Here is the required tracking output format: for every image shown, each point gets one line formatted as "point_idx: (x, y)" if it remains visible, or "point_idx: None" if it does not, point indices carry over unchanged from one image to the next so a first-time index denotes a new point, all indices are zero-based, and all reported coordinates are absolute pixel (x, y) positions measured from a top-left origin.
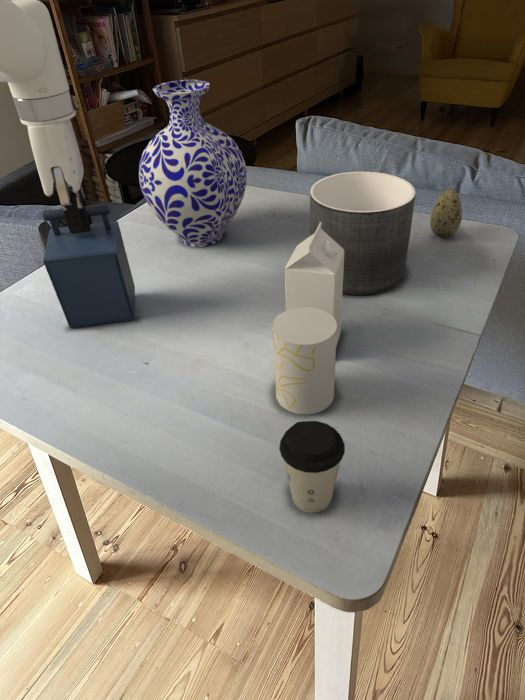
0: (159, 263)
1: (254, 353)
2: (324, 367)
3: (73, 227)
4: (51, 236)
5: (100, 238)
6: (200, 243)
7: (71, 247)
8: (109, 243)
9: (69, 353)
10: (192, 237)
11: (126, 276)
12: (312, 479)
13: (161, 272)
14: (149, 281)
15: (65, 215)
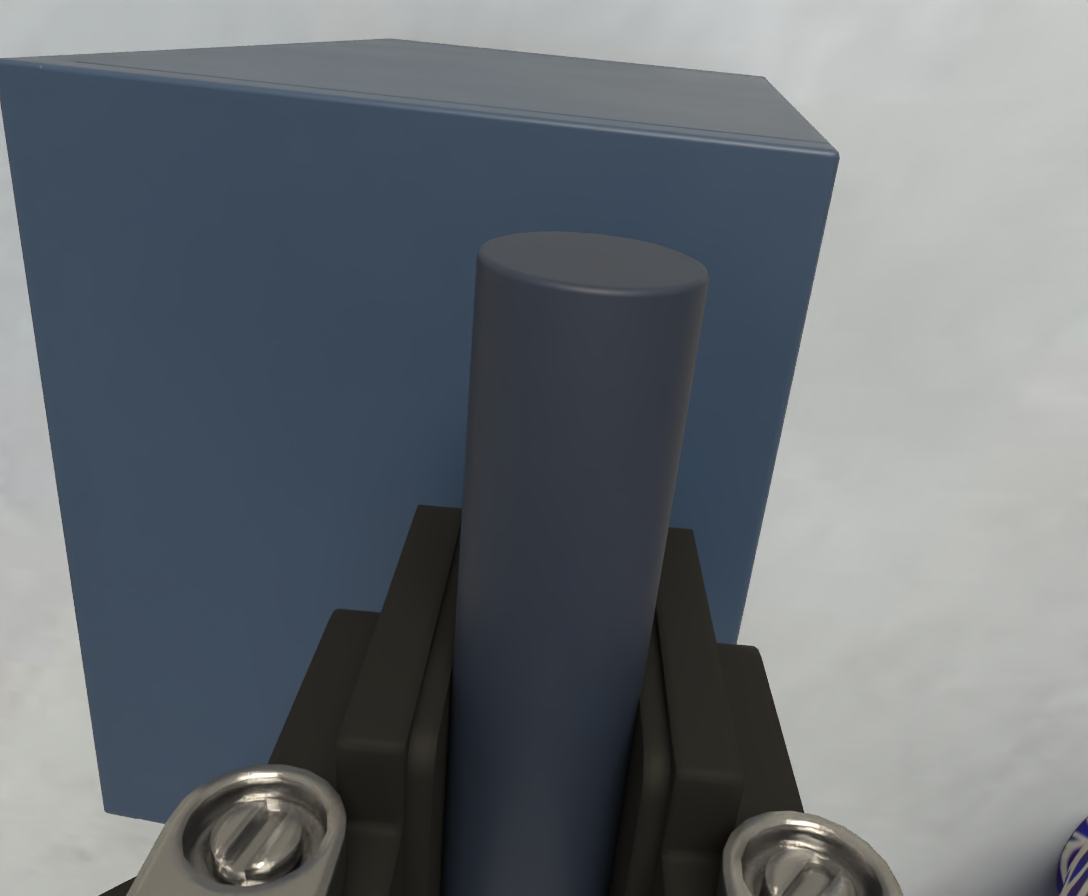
0: (998, 625)
1: (16, 867)
2: None
3: (327, 624)
4: (595, 180)
5: None
6: (1073, 861)
7: (257, 433)
8: None
9: (112, 42)
10: (1079, 882)
11: None
12: None
13: (877, 624)
14: (801, 553)
15: (365, 676)
